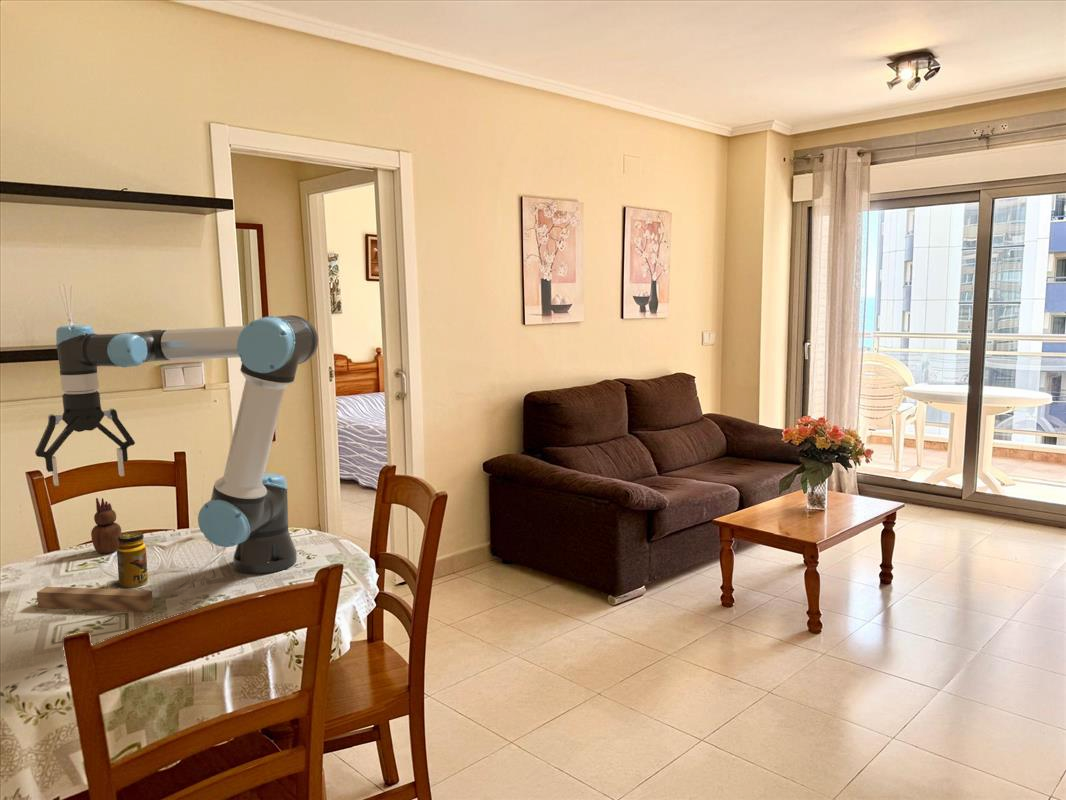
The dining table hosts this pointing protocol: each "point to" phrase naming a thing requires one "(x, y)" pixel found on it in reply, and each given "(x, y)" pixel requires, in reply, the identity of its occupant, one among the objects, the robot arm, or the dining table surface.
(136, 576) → the condiment
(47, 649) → the dining table surface
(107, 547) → the wooden figurine
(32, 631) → the dining table surface
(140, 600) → the board
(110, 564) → the dining table surface
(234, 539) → the robot arm
